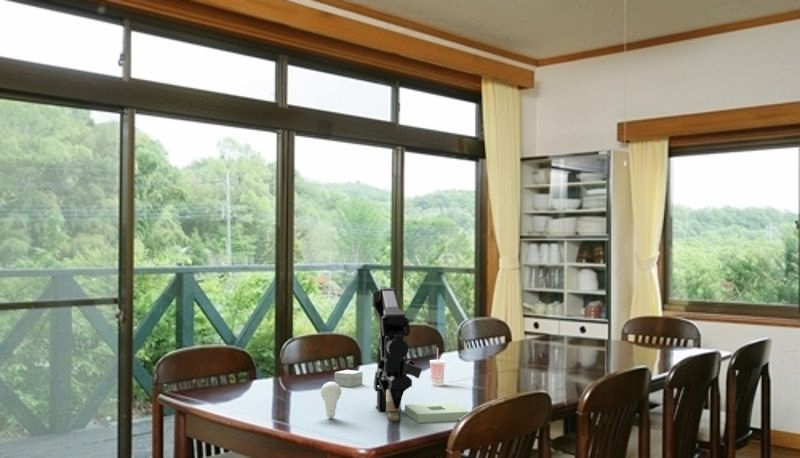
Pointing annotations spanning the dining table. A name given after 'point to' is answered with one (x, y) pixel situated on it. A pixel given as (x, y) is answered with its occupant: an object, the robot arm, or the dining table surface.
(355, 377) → the small box
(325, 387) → the lightbulb
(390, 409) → the peg
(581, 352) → the dining table surface
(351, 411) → the dining table surface
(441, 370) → the beverage cup
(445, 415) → the board
